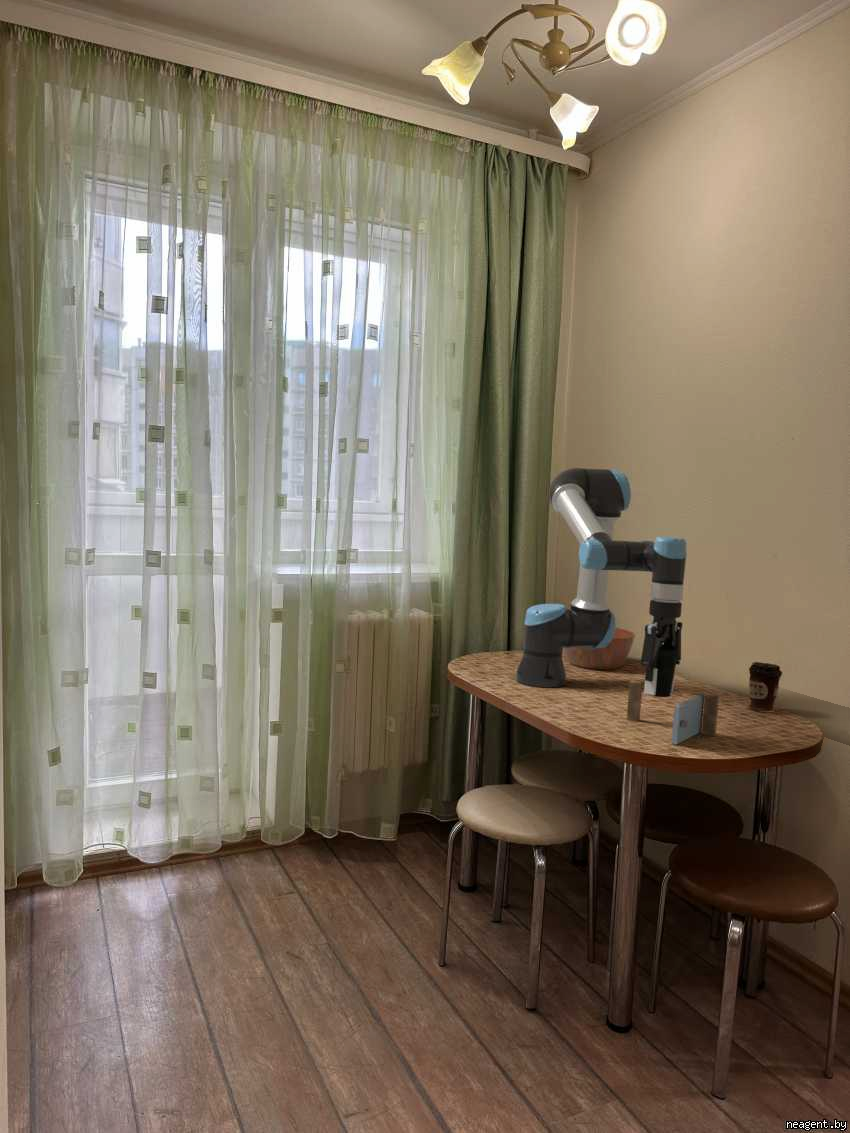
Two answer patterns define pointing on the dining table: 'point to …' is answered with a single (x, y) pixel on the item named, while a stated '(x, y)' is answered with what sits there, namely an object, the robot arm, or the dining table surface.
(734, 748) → the dining table surface
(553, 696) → the dining table surface
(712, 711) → the door frame
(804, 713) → the dining table surface
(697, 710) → the door
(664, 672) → the cup
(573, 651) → the bowl
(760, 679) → the coffee cup
